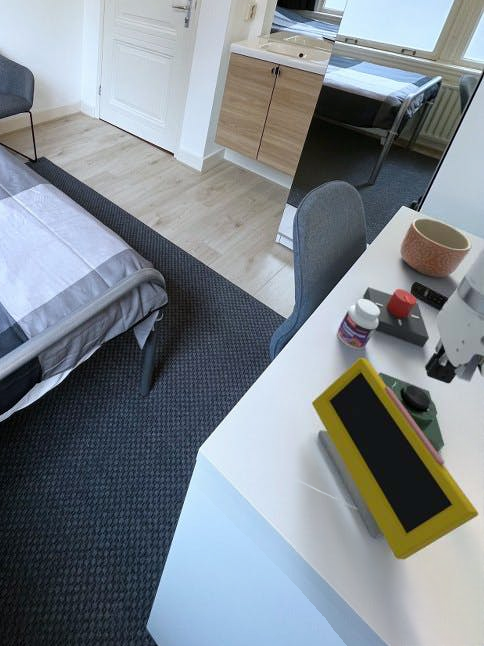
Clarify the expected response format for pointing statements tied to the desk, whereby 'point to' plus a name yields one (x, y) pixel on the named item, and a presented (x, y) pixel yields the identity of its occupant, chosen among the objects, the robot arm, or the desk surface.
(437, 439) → the vent housing
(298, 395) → the desk surface
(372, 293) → the handle block
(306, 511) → the desk surface
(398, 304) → the dial
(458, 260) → the planter
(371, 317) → the pill bottle
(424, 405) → the vent button
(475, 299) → the robot arm
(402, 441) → the yellow framed monitor
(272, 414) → the desk surface
